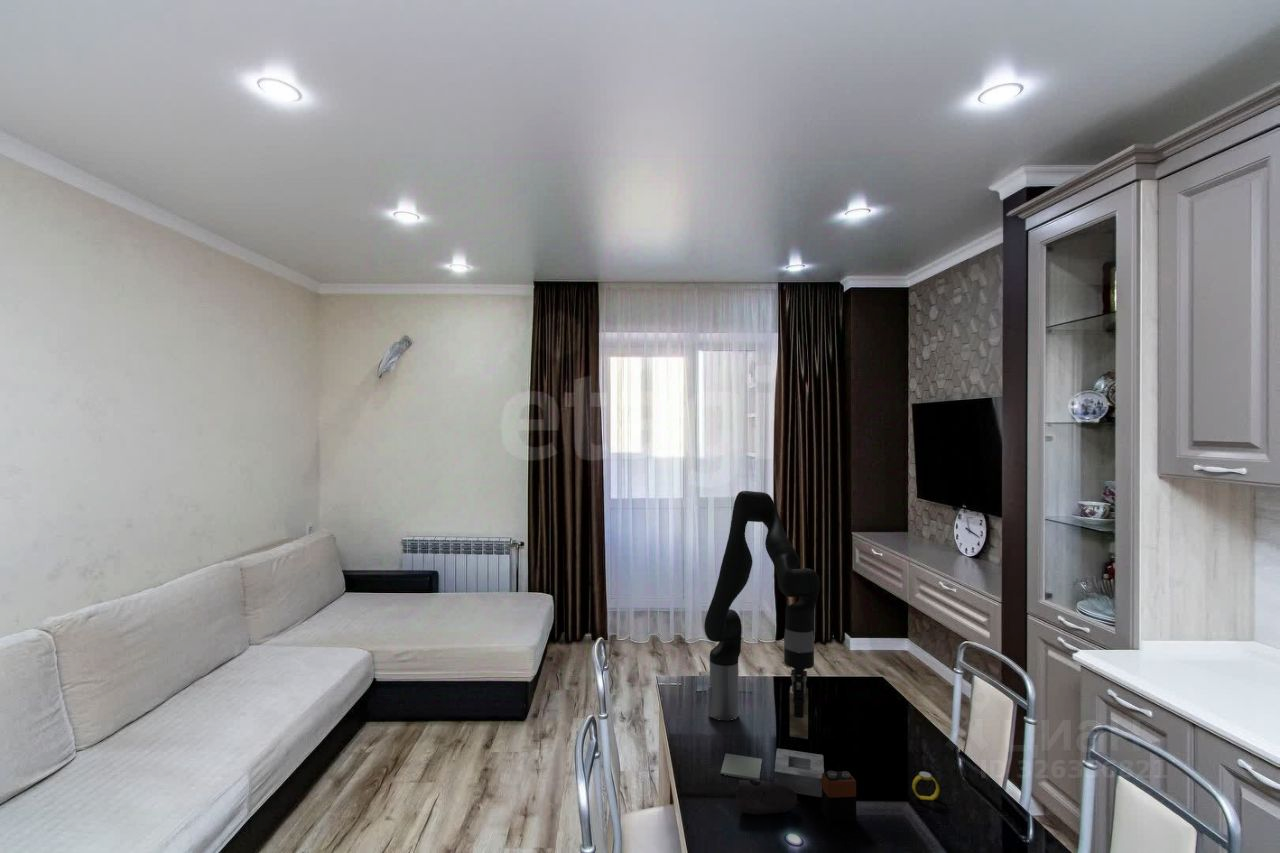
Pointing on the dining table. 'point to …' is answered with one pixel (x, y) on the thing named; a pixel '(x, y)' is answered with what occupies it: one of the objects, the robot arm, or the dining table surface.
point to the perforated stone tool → (764, 797)
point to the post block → (799, 771)
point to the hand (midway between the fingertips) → (798, 712)
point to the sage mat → (741, 766)
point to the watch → (926, 777)
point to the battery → (838, 796)
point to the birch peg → (799, 724)
